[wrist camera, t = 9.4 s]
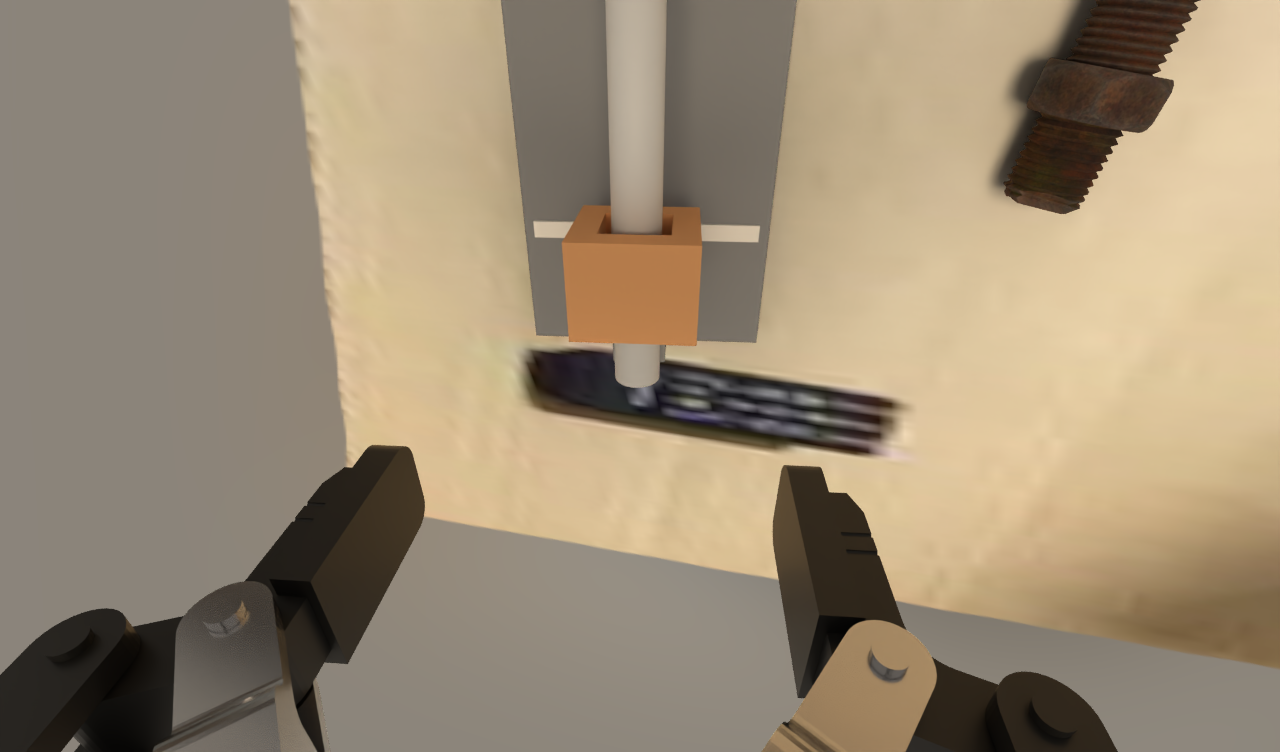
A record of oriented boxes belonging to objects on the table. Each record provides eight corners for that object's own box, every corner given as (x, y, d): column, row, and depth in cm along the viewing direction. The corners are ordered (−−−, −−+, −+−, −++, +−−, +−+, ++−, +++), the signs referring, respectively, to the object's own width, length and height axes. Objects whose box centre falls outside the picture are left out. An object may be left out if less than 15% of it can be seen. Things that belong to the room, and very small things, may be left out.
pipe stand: (490, -206, 22) (397, -314, 15) (815, -215, 21) (878, -332, 14) (542, 323, 33) (503, 402, 26) (753, 330, 32) (770, 413, 25)
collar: (583, 205, 25) (561, 242, 21) (699, 207, 25) (702, 245, 20) (588, 291, 27) (569, 341, 23) (695, 294, 27) (696, 346, 22)
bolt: (984, 178, 29) (1187, -245, 21) (1098, 209, 27) (1373, -245, 19) (968, 197, 25) (1217, -326, 16) (1102, 236, 23) (1462, -337, 14)
